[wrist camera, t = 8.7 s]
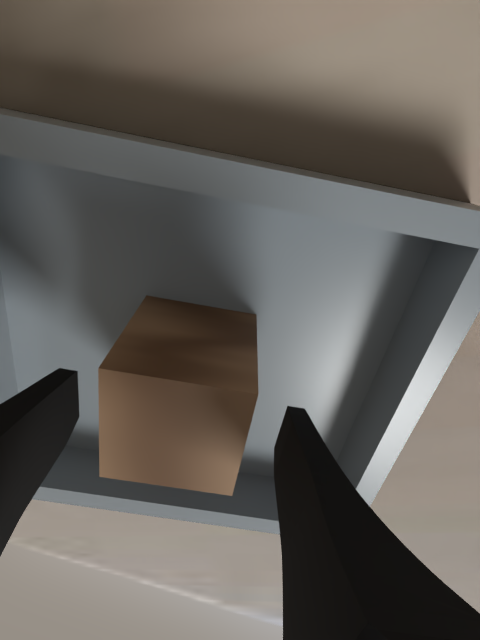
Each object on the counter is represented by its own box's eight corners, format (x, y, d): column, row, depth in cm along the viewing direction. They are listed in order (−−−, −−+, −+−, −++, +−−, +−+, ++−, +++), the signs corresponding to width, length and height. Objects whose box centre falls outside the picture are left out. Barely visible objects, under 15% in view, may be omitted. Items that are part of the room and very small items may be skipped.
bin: (471, 203, 13) (529, 221, 10) (335, 490, 20) (348, 544, 17) (-42, 98, 12) (-129, 88, 9) (13, 441, 19) (-25, 491, 16)
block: (256, 314, 14) (258, 394, 10) (237, 398, 16) (232, 495, 12) (146, 295, 14) (98, 367, 10) (141, 383, 16) (99, 476, 12)
